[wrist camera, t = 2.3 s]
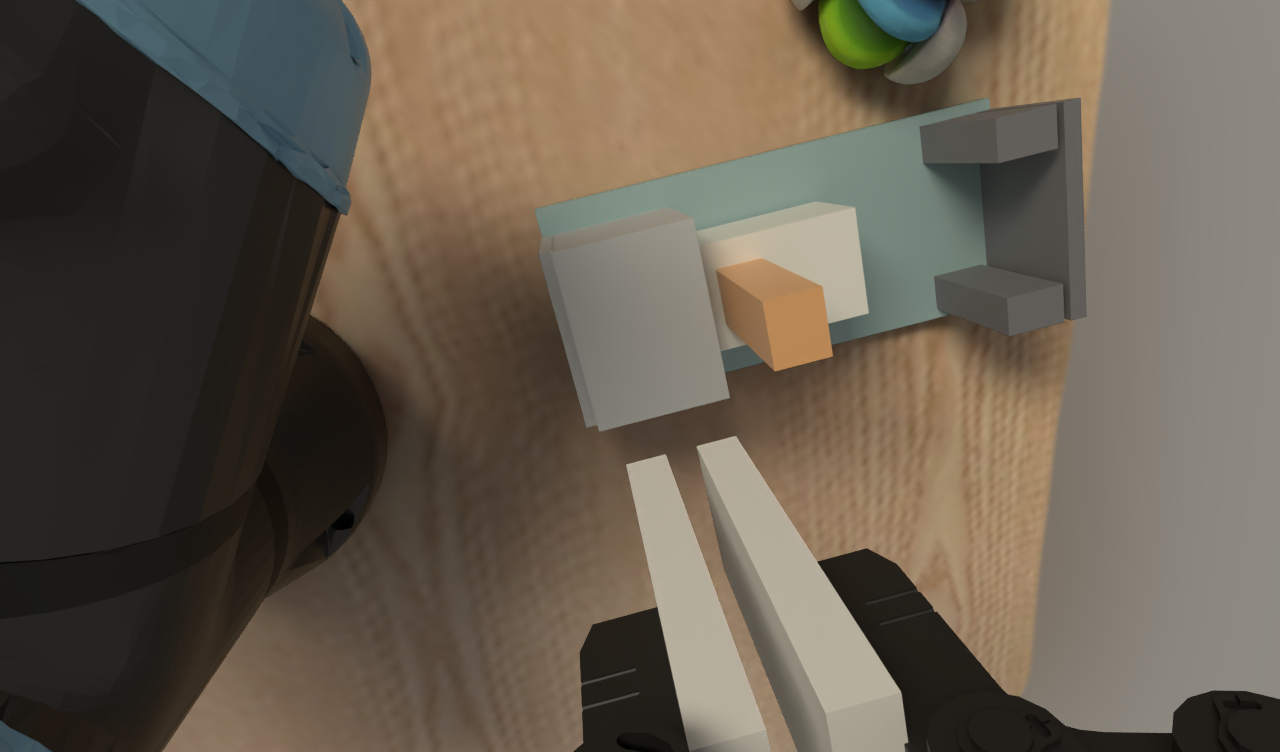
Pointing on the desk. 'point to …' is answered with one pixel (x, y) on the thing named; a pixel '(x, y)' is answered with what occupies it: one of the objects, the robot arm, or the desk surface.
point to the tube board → (888, 233)
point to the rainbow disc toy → (893, 34)
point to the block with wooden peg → (784, 280)
